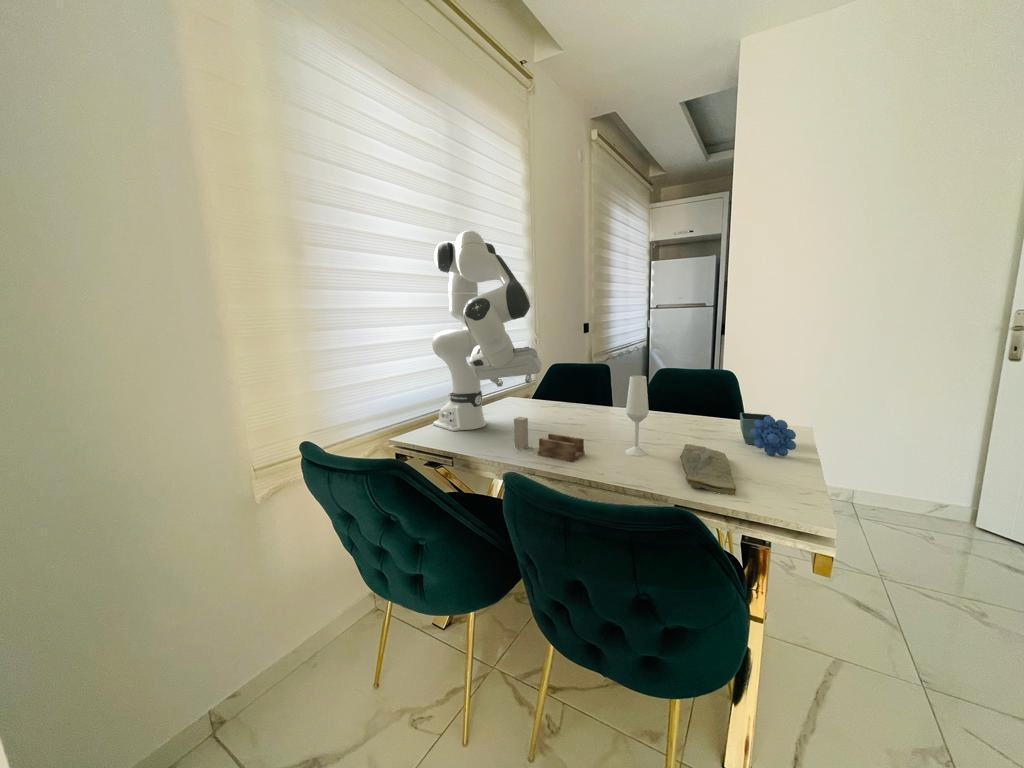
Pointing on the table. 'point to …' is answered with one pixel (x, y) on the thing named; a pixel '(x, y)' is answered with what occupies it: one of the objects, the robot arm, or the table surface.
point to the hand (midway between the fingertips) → (514, 383)
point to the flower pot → (749, 425)
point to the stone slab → (707, 469)
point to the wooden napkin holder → (561, 447)
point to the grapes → (773, 436)
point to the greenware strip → (521, 432)
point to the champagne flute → (637, 408)
